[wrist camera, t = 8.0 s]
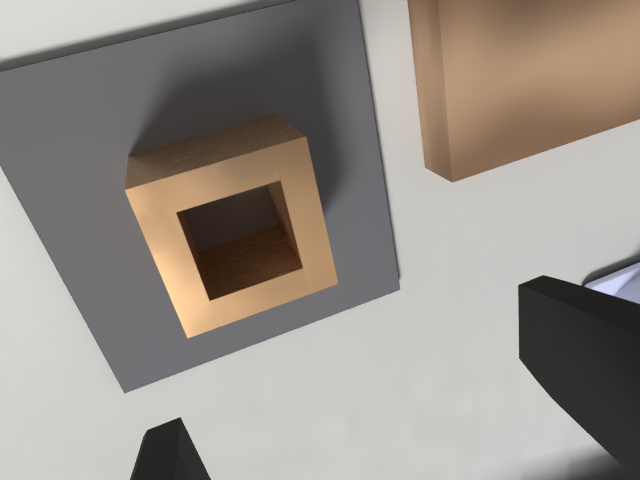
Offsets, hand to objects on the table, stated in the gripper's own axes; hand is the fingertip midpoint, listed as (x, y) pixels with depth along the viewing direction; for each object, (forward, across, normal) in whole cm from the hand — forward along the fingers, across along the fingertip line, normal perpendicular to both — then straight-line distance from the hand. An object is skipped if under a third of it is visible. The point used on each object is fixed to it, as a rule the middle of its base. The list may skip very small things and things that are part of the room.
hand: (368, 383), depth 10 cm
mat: (+10, +1, -1) cm, 10 cm away
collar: (+9, +1, -1) cm, 10 cm away
